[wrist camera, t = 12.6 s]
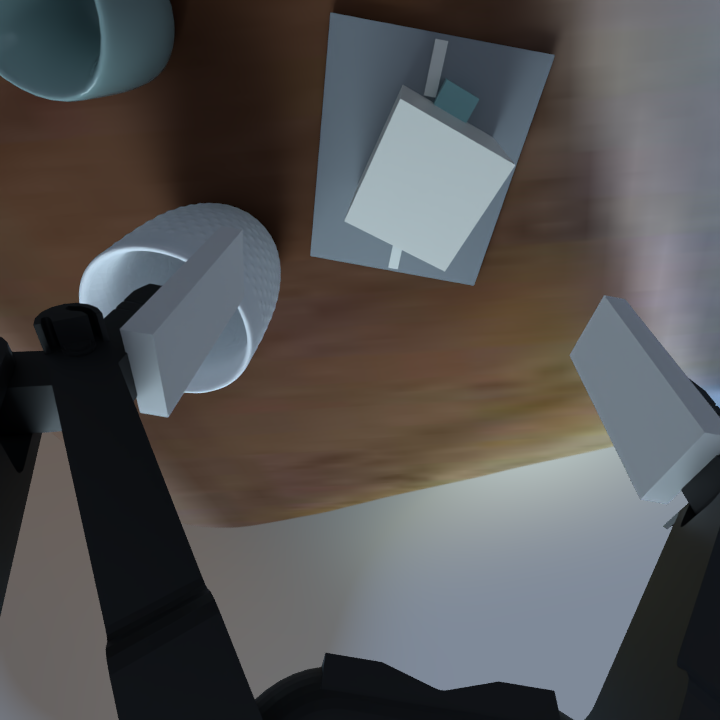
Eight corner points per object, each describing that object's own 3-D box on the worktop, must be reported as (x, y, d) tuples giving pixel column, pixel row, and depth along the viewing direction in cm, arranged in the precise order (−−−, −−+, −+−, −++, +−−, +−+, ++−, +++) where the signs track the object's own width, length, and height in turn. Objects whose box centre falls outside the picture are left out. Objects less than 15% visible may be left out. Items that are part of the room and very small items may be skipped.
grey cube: (349, 202, 33) (334, 242, 26) (414, 59, 27) (415, 66, 21) (428, 243, 34) (432, 290, 28) (506, 114, 28) (534, 137, 22)
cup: (188, 102, 31) (110, 125, 23) (77, 61, 30) (-44, 69, 22) (197, -38, 26) (103, -71, 18) (66, -93, 25) (-94, -153, 17)
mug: (270, 348, 43) (225, 446, 33) (162, 309, 42) (80, 399, 31) (313, 213, 35) (271, 288, 24) (179, 157, 33) (72, 212, 23)
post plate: (332, 13, 27) (312, 6, 21) (550, 54, 27) (586, 59, 21) (312, 251, 36) (294, 289, 31) (472, 280, 37) (483, 323, 31)
